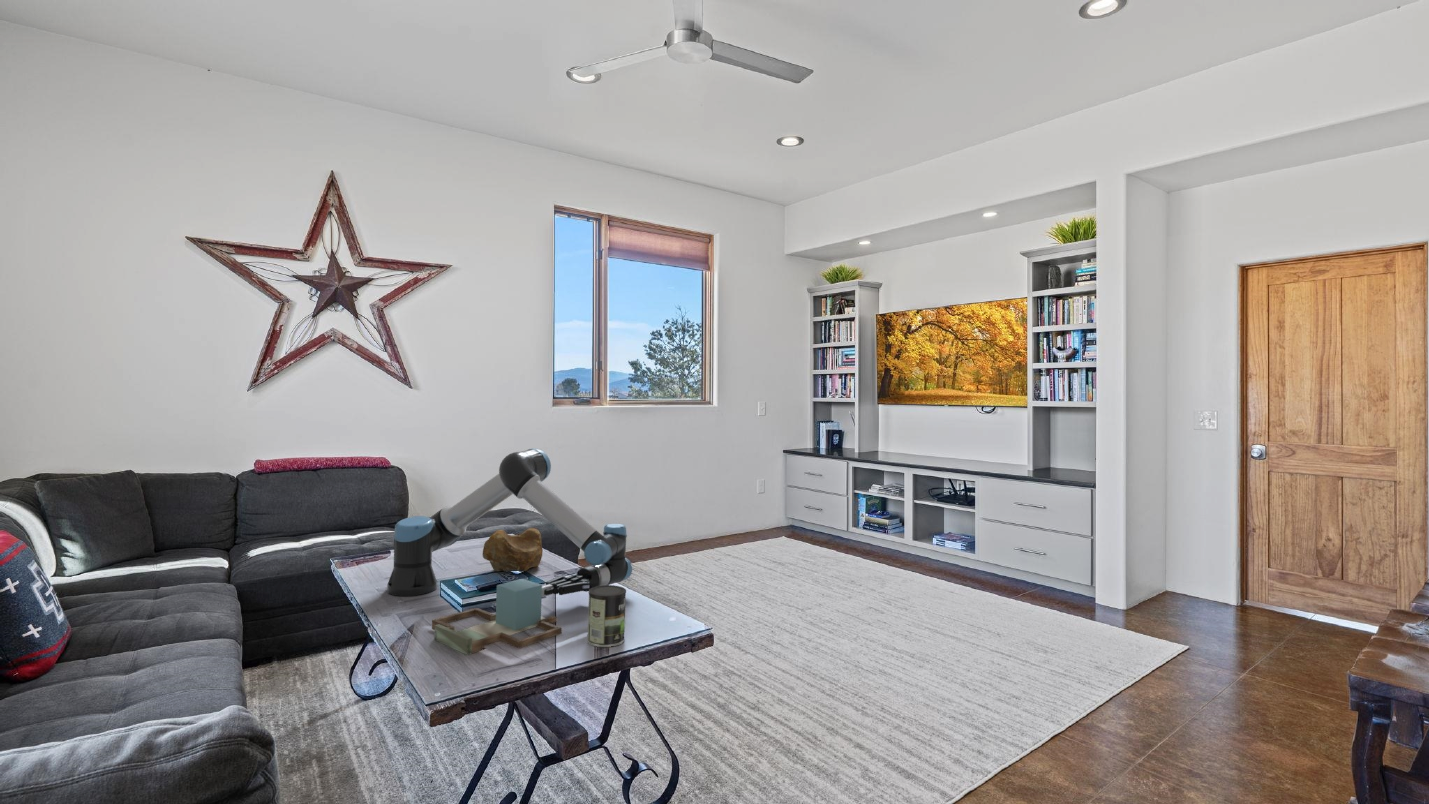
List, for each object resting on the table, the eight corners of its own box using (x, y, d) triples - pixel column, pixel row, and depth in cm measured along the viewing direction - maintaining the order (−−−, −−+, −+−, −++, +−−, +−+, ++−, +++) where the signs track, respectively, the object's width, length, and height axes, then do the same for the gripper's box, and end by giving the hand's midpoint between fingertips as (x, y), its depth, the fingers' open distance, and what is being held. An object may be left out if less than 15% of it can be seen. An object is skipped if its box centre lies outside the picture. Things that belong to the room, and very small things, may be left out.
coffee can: (627, 634, 194) (628, 585, 194) (621, 648, 184) (623, 596, 184) (591, 633, 195) (592, 584, 194) (583, 646, 184) (585, 595, 184)
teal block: (521, 615, 204) (522, 578, 204) (540, 622, 199) (541, 584, 198) (495, 622, 197) (496, 585, 197) (514, 630, 192) (516, 591, 191)
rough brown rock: (500, 583, 241) (504, 542, 240) (476, 569, 252) (480, 530, 251) (555, 573, 258) (559, 534, 257) (530, 561, 269) (534, 524, 268)
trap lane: (506, 607, 214) (506, 594, 213) (574, 631, 195) (574, 618, 195) (418, 632, 190) (418, 618, 190) (486, 663, 171) (486, 647, 171)
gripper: (606, 593, 216) (547, 611, 197) (578, 584, 224) (519, 601, 205) (607, 569, 216) (548, 586, 197) (579, 562, 224) (519, 577, 205)
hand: (533, 594), depth 201 cm, fingers closed
